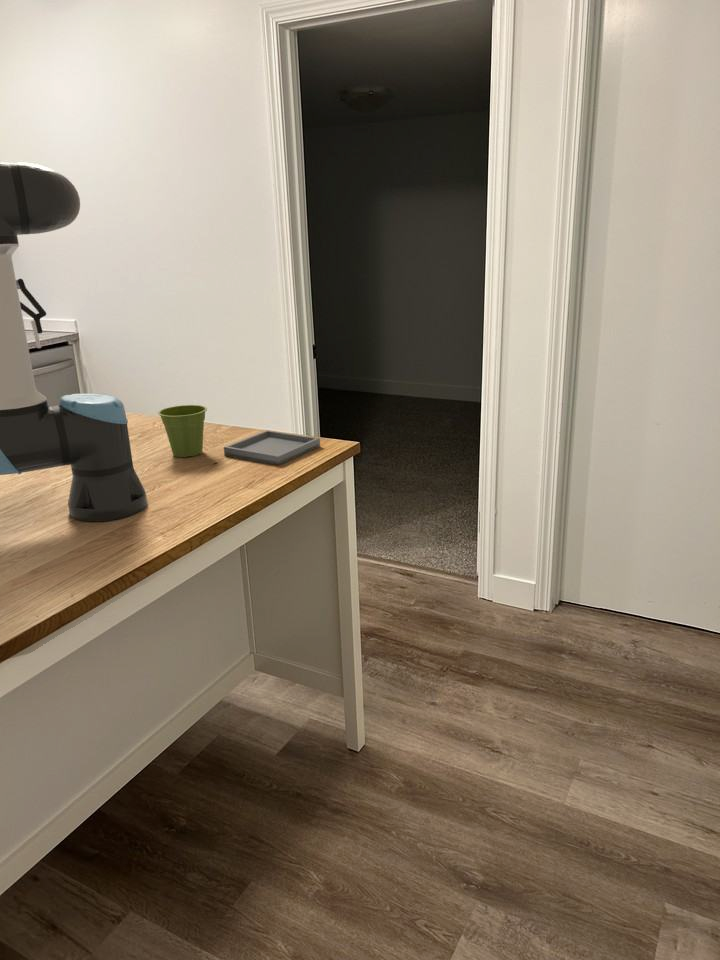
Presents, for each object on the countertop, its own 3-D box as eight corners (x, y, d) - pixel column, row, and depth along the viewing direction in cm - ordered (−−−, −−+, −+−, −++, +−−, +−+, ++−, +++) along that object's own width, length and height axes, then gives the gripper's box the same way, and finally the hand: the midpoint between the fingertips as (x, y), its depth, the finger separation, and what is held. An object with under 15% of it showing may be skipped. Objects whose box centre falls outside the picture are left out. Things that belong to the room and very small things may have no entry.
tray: (320, 446, 183) (319, 438, 183) (279, 465, 170) (278, 456, 169) (267, 438, 192) (267, 430, 191) (224, 455, 178) (223, 447, 178)
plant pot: (217, 446, 186) (213, 404, 182) (203, 461, 175) (198, 416, 171) (172, 446, 187) (167, 404, 183) (156, 460, 176) (150, 416, 172)
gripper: (41, 256, 176) (62, 343, 182) (-74, 267, 165) (-49, 359, 171) (44, 253, 169) (65, 344, 175) (-77, 265, 159) (-50, 361, 165)
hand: (9, 352), depth 173 cm, fingers open, 13 cm apart
